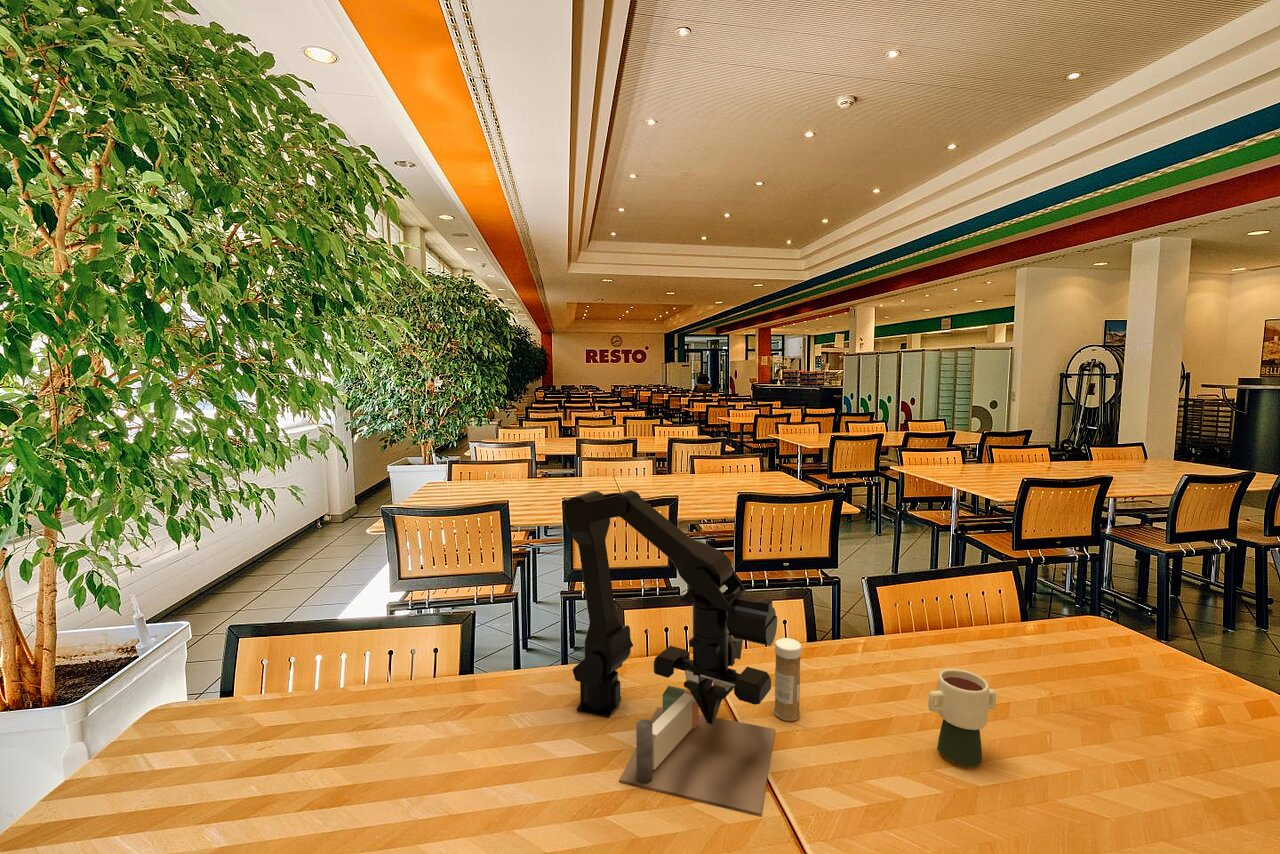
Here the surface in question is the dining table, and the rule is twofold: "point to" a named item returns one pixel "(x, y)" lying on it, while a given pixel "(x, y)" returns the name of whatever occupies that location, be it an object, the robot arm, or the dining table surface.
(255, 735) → the dining table surface
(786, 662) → the sprinkles bottle
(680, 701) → the orange and cream block
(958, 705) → the character mug
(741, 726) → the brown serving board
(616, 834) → the dining table surface
